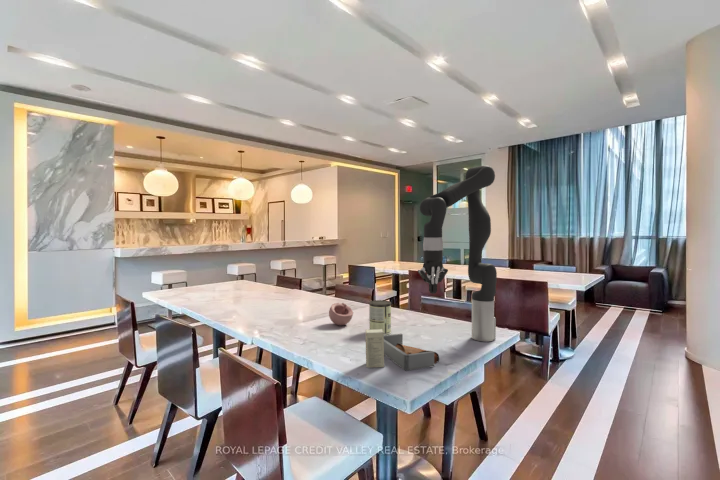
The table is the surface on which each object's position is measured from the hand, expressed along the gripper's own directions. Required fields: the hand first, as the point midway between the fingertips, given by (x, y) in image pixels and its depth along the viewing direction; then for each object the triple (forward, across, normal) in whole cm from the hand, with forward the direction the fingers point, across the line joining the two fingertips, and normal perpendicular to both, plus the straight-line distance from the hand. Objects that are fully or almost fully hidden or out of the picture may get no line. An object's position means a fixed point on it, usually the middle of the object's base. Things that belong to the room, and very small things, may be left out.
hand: (432, 293), depth 138 cm
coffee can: (+23, +8, -31) cm, 40 cm away
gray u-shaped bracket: (+23, +14, +2) cm, 26 cm away
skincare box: (+23, +28, +6) cm, 36 cm away
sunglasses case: (+23, +12, +5) cm, 27 cm away
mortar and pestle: (+23, +21, -50) cm, 59 cm away
